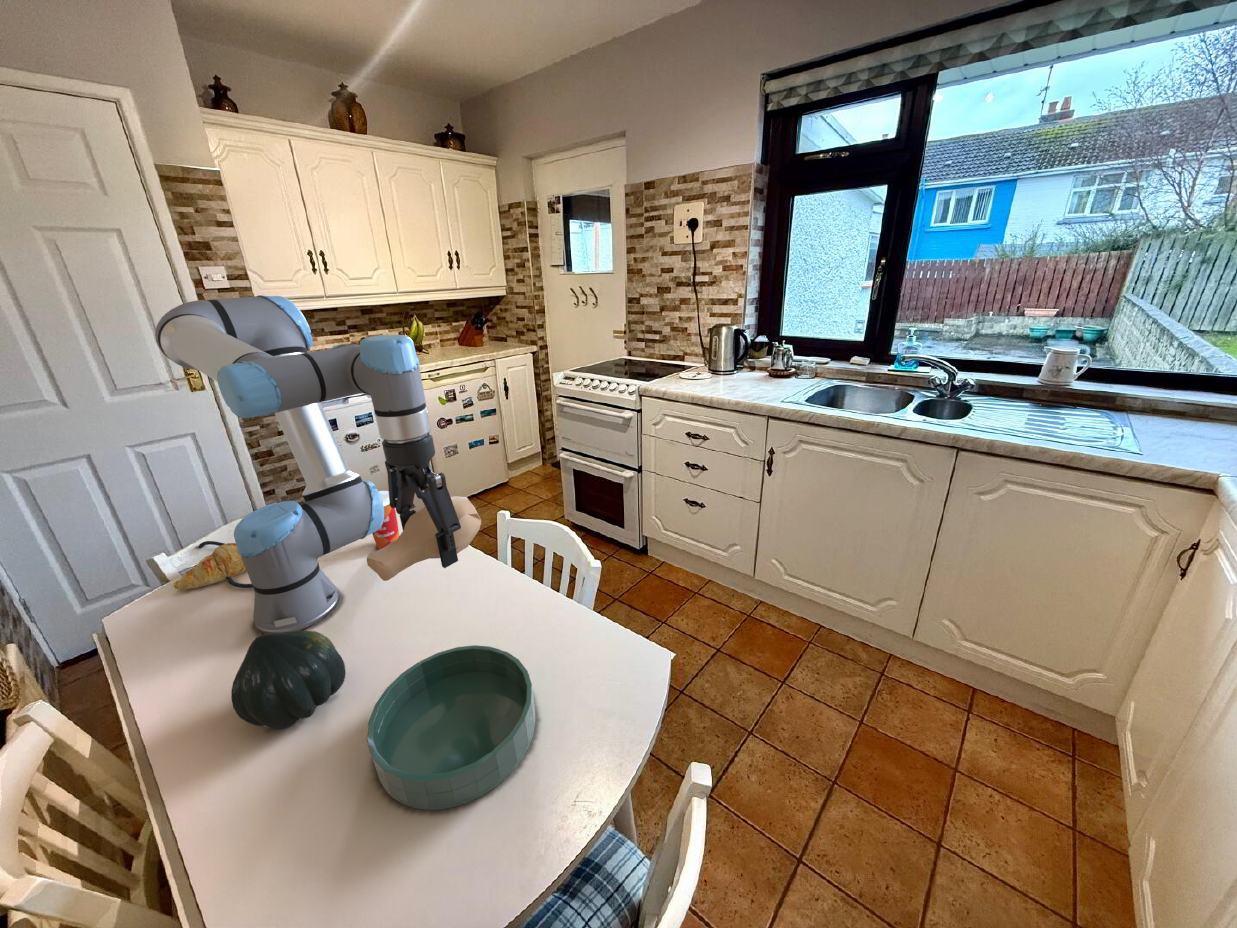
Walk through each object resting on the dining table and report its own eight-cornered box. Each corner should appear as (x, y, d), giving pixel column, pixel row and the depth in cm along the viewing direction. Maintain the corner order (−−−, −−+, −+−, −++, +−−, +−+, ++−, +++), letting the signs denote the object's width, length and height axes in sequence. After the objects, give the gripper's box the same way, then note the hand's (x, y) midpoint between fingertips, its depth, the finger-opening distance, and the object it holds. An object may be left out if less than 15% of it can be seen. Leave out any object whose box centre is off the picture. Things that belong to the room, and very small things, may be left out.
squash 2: (497, 539, 91) (490, 502, 85) (397, 605, 78) (383, 566, 73) (462, 514, 96) (454, 478, 91) (364, 572, 83) (348, 533, 78)
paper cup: (366, 551, 123) (352, 502, 118) (384, 535, 130) (372, 489, 125) (394, 553, 122) (382, 504, 117) (411, 537, 129) (400, 490, 124)
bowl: (347, 745, 74) (336, 717, 71) (474, 651, 91) (469, 626, 88) (436, 849, 60) (427, 819, 58) (566, 716, 77) (563, 689, 75)
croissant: (187, 610, 109) (181, 590, 104) (163, 581, 112) (156, 560, 107) (286, 561, 125) (285, 542, 120) (264, 537, 128) (261, 517, 123)
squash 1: (359, 686, 77) (318, 603, 79) (249, 753, 68) (205, 656, 70) (353, 690, 88) (317, 617, 90) (257, 748, 79) (219, 665, 80)
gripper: (470, 442, 74) (490, 564, 82) (390, 418, 86) (415, 526, 95) (426, 458, 68) (452, 587, 77) (348, 430, 81) (378, 543, 89)
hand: (431, 553), depth 86 cm, fingers closed on squash 2, 10 cm apart
